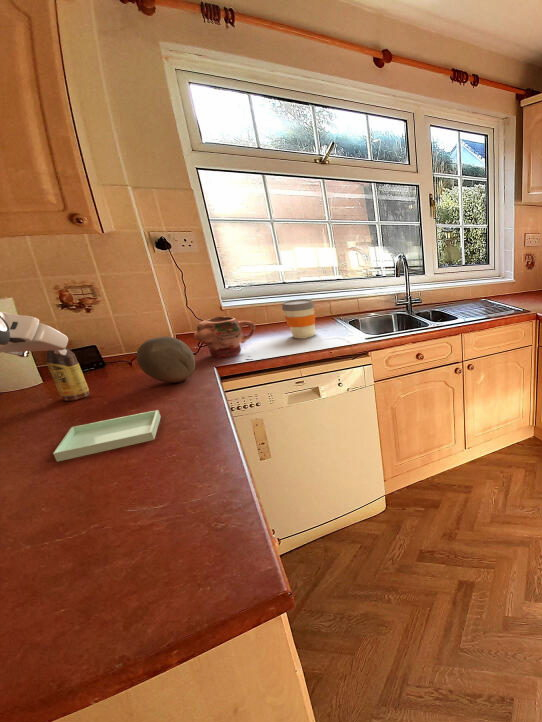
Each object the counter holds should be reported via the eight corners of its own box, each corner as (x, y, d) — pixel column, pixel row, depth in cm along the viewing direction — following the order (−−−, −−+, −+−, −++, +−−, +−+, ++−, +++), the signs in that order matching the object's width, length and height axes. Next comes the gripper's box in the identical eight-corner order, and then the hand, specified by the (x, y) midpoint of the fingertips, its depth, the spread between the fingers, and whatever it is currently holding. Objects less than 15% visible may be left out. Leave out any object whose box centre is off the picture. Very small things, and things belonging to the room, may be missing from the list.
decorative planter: (255, 345, 175) (247, 311, 170) (264, 351, 167) (255, 316, 162) (198, 355, 163) (187, 320, 158) (204, 363, 154) (192, 325, 149)
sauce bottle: (57, 400, 124) (27, 335, 117) (83, 392, 130) (55, 329, 122) (71, 403, 122) (42, 337, 115) (97, 394, 128) (70, 331, 120)
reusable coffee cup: (293, 332, 193) (286, 299, 187) (322, 330, 195) (316, 298, 189) (284, 340, 182) (276, 305, 176) (315, 338, 184) (308, 303, 178)
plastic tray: (56, 461, 93) (52, 453, 92) (74, 434, 104) (71, 427, 104) (154, 439, 101) (151, 432, 100) (160, 416, 113) (158, 409, 112)
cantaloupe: (199, 371, 146) (186, 329, 140) (201, 383, 135) (187, 338, 130) (147, 381, 138) (131, 336, 133) (145, 394, 128) (127, 346, 122)
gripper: (-61, 341, 103) (-1, 366, 115) (33, 338, 105) (81, 362, 117) (-50, 319, 105) (7, 345, 118) (41, 316, 107) (87, 342, 120)
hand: (44, 354), depth 118 cm, fingers open, 8 cm apart
